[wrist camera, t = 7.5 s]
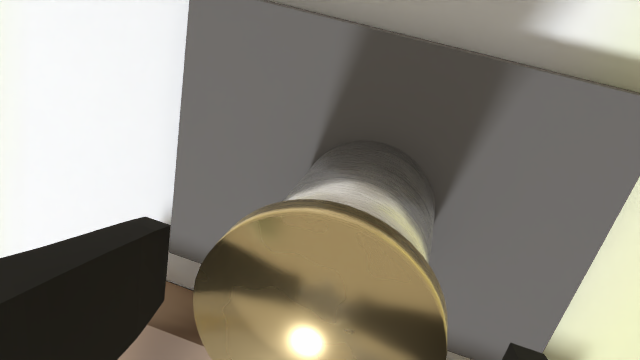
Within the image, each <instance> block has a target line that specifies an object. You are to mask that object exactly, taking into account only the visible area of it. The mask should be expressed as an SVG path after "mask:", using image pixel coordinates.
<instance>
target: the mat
mask: <svg viewBox="0 0 640 360" xmlns="http://www.w3.org/2000/svg"><path fill="white" fill-rule="evenodd" d="M353 141H376V142H380V143H384V144H387V145H390V146H393V147H395V148H397V149H399V150H401V151H402V152H404V153H405V154H407V155H408V156H410V157H411V158H412V159H413V160H414V161H415V162H416V163H417V164H418V165H419V166H420V167H421V168H422V170H423V171H424V173H425V174H426V176H427V177H428V179H429V182H430V184H431V186H432V189H433V192H434V198H435V216H434V226H433V235H432V244H431V253H430V263H429V266H430V267H431V268H432V270H433V272H434V274H435V276H436V278H437V280H438V282H439V284H440V287H441V289H442V292H443V295H444V298H445V303H446V309H447V324H448V329H447V351H450V352H453V353H456V354H459V355H461V356H464V357H467V358H470V359H473V360H502V358H503V356H504V354H505V352H506V350H507V348H508V346H509V344H510V343H514V344H517V345H520V346H522V347H525V348H528V349H531V350H534V351H537V352H540V353H543V351H544V349H545V347H546V346H547V344H548V342H549V340H550V338H551V336H552V335H553V333H554V331H555V329H556V327H557V326H558V324H559V322H560V320H561V318H562V316H563V315H564V313H565V311H566V309H567V307H568V306H569V304H570V302H571V300H572V298H573V296H574V295H575V293H576V291H577V289H578V287H579V286H580V284H581V282H582V280H583V278H584V276H585V275H586V273H587V271H588V269H589V267H590V266H591V264H592V262H593V260H594V258H595V256H596V255H597V253H598V251H599V249H600V247H601V246H602V244H603V242H604V240H605V238H606V237H607V235H608V233H609V231H610V229H611V227H612V226H613V224H614V222H615V220H616V218H617V217H618V215H619V213H620V211H621V209H622V207H623V206H624V204H625V202H626V200H627V198H628V197H629V195H630V193H631V191H632V189H633V187H634V186H635V184H636V182H637V180H638V178H639V177H640V93H637V92H633V91H629V90H625V89H621V88H617V87H613V86H609V85H605V84H601V83H597V82H593V81H589V80H585V79H581V78H577V77H573V76H569V75H565V74H561V73H557V72H552V71H548V70H544V69H540V68H536V67H532V66H528V65H524V64H520V63H516V62H512V61H508V60H504V59H500V58H496V57H492V56H488V55H484V54H480V53H476V52H472V51H468V50H464V49H460V48H456V47H452V46H448V45H444V44H440V43H436V42H432V41H428V40H424V39H420V38H416V37H411V36H407V35H403V34H399V33H395V32H391V31H387V30H383V29H379V28H375V27H371V26H367V25H363V24H359V23H355V22H351V21H347V20H343V19H339V18H335V17H331V16H327V15H323V14H319V13H315V12H311V11H307V10H303V9H299V8H295V7H291V6H287V5H283V4H279V3H275V2H270V1H266V0H189V12H188V24H187V37H186V49H185V61H184V73H183V86H182V98H181V110H180V122H179V135H178V147H177V159H176V172H175V184H174V196H173V208H172V221H171V233H170V245H169V252H170V253H172V254H175V255H178V256H181V257H184V258H187V259H189V260H192V261H195V262H198V263H201V264H202V263H203V261H204V259H205V257H206V256H207V254H208V253H209V252H210V251H211V249H212V248H213V247H214V246H215V245H216V244H217V243H218V241H219V240H220V239H221V238H222V237H223V236H224V235H225V234H226V233H227V232H228V231H229V230H230V229H231V228H232V227H233V226H234V225H235V224H236V223H237V222H239V221H240V220H241V219H242V218H243V217H245V216H247V215H248V214H250V213H251V212H253V211H255V210H257V209H260V208H262V207H264V206H267V205H270V204H273V203H277V202H281V201H284V199H285V198H286V197H287V196H288V195H289V193H290V192H291V191H292V190H293V189H294V187H295V186H296V185H297V184H298V183H299V181H300V180H301V179H302V178H303V177H304V175H305V174H306V173H307V172H308V170H309V169H310V168H311V167H312V166H313V164H314V163H315V162H316V161H317V160H318V159H319V158H320V157H321V156H322V155H323V154H324V153H326V152H327V151H329V150H330V149H332V148H334V147H336V146H338V145H341V144H344V143H347V142H353Z"/></svg>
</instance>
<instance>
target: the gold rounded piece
mask: <svg viewBox="0 0 640 360" xmlns="http://www.w3.org/2000/svg"><path fill="white" fill-rule="evenodd" d="M434 216H435V198H434V192H433V189H432V186H431V184H430V182H429V179H428V177H427V176H426V174H425V173H424V171H423V170H422V168H421V167H420V166H419V165H418V164H417V163H416V162H415V161H414V160H413V159H412V158H411V157H410V156H408V155H407V154H405V153H404V152H402V151H401V150H399V149H397V148H395V147H393V146H390V145H387V144H384V143H380V142H376V141H353V142H347V143H344V144H341V145H338V146H336V147H334V148H332V149H330V150H329V151H327V152H326V153H324V154H323V155H322V156H321V157H320V158H319V159H318V160H317V161H316V162H315V163H314V164H313V166H312V167H311V168H310V169H309V170H308V172H307V173H306V174H305V175H304V177H303V178H302V179H301V180H300V181H299V183H298V184H297V185H296V186H295V187H294V189H293V190H292V191H291V192H290V193H289V195H288V196H287V197H286V198H285V199H284V201H281V202H277V203H273V204H270V205H267V206H264V207H262V208H260V209H257V210H255V211H253V212H251V213H250V214H248V215H247V216H245V217H243V218H242V219H241V220H240V221H239V222H237V223H236V224H235V225H234V226H233V227H232V228H231V229H230V230H229V231H228V232H227V233H226V234H225V235H224V236H223V237H222V238H221V239H220V240H219V241H218V243H217V244H216V245H215V246H214V247H213V248H212V249H211V251H210V252H209V253H208V254H207V256H206V257H205V259H204V261H203V263H202V264H201V266H200V269H199V271H198V274H197V277H196V280H195V285H194V291H193V309H194V318H195V322H196V326H197V330H198V333H199V335H200V338H201V340H202V343H203V345H204V347H205V349H206V351H207V353H208V355H209V356H210V358H211V359H212V360H446V355H447V329H448V324H447V309H446V303H445V298H444V295H443V292H442V289H441V287H440V284H439V282H438V280H437V278H436V276H435V274H434V272H433V270H432V268H431V267H430V266H429V263H430V253H431V244H432V235H433V226H434Z"/></svg>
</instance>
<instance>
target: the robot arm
mask: <svg viewBox="0 0 640 360" xmlns="http://www.w3.org/2000/svg"><path fill="white" fill-rule="evenodd" d="M170 226H171V225H168V224H165V223H162V222H160V221H157V220H154V219H151V218H148V217H142V218H138V219H134V220H130V221H126V222H123V223H119V224H116V225H113V226H109V227H106V228H103V229H100V230H96V231H93V232H90V233H87V234H83V235H80V236H77V237H74V238H70V239H67V240H64V241H60V242H57V243H54V244H51V245H47V246H44V247H40V248H37V249H33V250H29V251H26V252H22V253H18V254H15V255H11V256H7V257H3V258H0V360H118V359H119V357H120V356H121V355H122V354H123V353H124V352H125V351H126V350H127V349H128V348H129V347H130V346H131V344H132V343H133V342H134V341H135V340H136V339H137V338H138V336H139V335H140V334H141V332H142V331H143V330H144V328H145V327H146V326H147V324H148V323H149V322H150V320H151V319H152V317H153V316H154V314H155V313H156V312H157V310H158V309H159V307H160V306H161V304H162V303H163V302H164V299H165V286H166V274H167V262H168V250H169V238H170ZM502 360H548V359H547V358H546V356H545V355H544V354H543V353H540V352H537V351H534V350H531V349H528V348H525V347H522V346H520V345H517V344H514V343H510V344H509V346H508V348H507V350H506V352H505V354H504V356H503V358H502Z"/></svg>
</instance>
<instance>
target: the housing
mask: <svg viewBox="0 0 640 360" xmlns="http://www.w3.org/2000/svg"><path fill="white" fill-rule="evenodd" d="M118 360H212V359H211V358H210V356H209V355H208V353H207V351H206V349H205V347H204V345H203V343H202V340H201V338H200V335H199V333H198V330H197V326H196V322H195V318H194V309H193V291H192V290H189V289H186V288H184V287H181V286H178V285H175V284H173V283H170V282H167V281H166V286H165V299H164V302H163V303H162V304H161V306H160V307H159V309H158V310H157V312H156V313H155V314H154V316H153V317H152V319H151V320H150V322H149V323H148V324H147V326H146V327H145V328H144V330H143V331H142V332H141V334H140V335H139V336H138V338H137V339H136V340H135V341H134V342H133V343H132V344H131V346H130V347H129V348H128V349H127V350H126V351H125V352H124V353H123V354H122V355H121V356H120V357H119V359H118Z"/></svg>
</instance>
